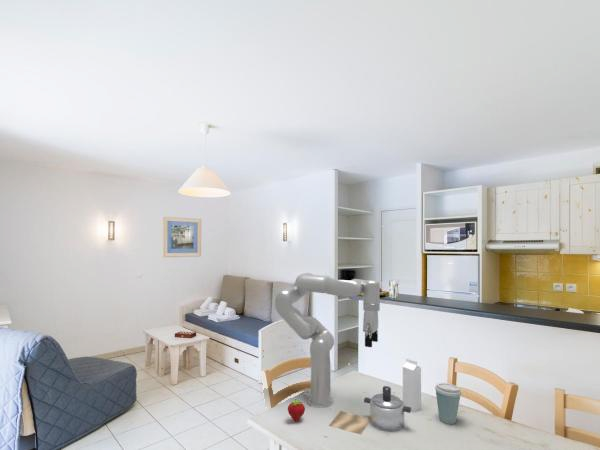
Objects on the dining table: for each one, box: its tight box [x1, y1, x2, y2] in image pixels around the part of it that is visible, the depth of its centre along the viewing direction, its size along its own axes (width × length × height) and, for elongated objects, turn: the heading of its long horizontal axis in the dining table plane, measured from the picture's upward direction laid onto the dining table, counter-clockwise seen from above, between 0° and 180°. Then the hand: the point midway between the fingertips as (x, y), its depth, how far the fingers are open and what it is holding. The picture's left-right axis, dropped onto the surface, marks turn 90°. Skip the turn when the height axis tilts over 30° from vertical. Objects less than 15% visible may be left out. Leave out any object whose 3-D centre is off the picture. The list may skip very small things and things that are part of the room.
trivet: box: [328, 410, 370, 435], centre depth 145 cm, size 14×14×1 cm
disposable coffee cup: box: [434, 382, 462, 425], centre depth 148 cm, size 11×11×15 cm
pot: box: [363, 397, 412, 433], centre depth 144 cm, size 20×14×9 cm
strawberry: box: [287, 398, 306, 422], centre depth 146 cm, size 6×8×10 cm
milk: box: [402, 358, 422, 413], centre depth 159 cm, size 6×6×22 cm
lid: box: [373, 385, 402, 409], centre depth 145 cm, size 12×12×6 cm
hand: (371, 344), depth 157 cm, fingers open, 9 cm apart
